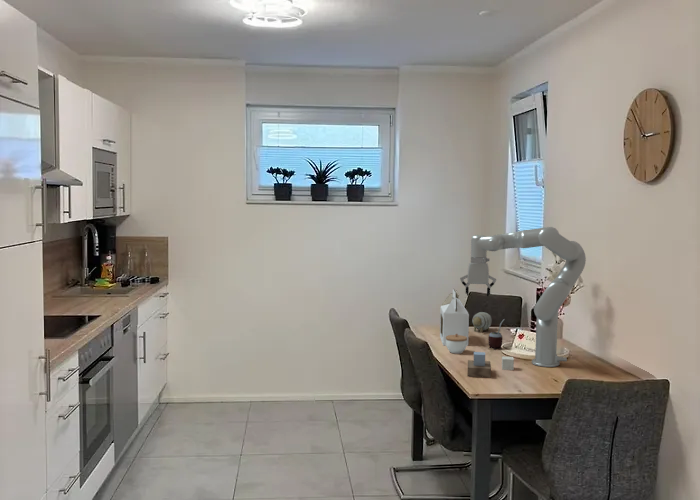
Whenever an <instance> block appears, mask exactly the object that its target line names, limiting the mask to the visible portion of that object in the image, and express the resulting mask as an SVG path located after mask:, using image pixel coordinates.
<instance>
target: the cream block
mask: <svg viewBox="0 0 700 500" xmlns="http://www.w3.org/2000/svg"><path fill="white" fill-rule="evenodd" d="M514 364H515V358H514V357H513V356H505V355H504V356H501V370H504V371H514V369H515V368H514V367H515V366H514Z"/></svg>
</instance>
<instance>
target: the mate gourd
mask: <svg viewBox="0 0 700 500" xmlns="http://www.w3.org/2000/svg"><path fill="white" fill-rule="evenodd" d="M505 320H506V319H505V318H504V319H502V321H500V323H499V327H498V331H497V332H495V331H492V332H490V333H489V335H488V348H489V349H493V351H494V350H497V349H498V350H502V347H503V335H502V333H501V332H500V331H501V326H502V325H503V322H504V321H505Z"/></svg>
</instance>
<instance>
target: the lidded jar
mask: <svg viewBox="0 0 700 500" xmlns="http://www.w3.org/2000/svg"><path fill="white" fill-rule="evenodd" d="M466 345H467V337H466V336H462V335H458V334H455V335H448V336H446V346H445V347H446V348H447V350H448V351H449V352H450V353H451V354H463V352H465V349H466V348H467V346H466Z"/></svg>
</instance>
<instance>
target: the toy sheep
mask: <svg viewBox="0 0 700 500" xmlns="http://www.w3.org/2000/svg"><path fill="white" fill-rule="evenodd" d="M492 319H493V318H492V316H491V315H490V314H489V313H487V312H483V311H480V312H477V313H475V314H474V315H473V317H472V324H473V332H477V330H479V332H480V333H483V331H486V330H487V331H489V330H490V327H491V325H492V321H493V320H492Z"/></svg>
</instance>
